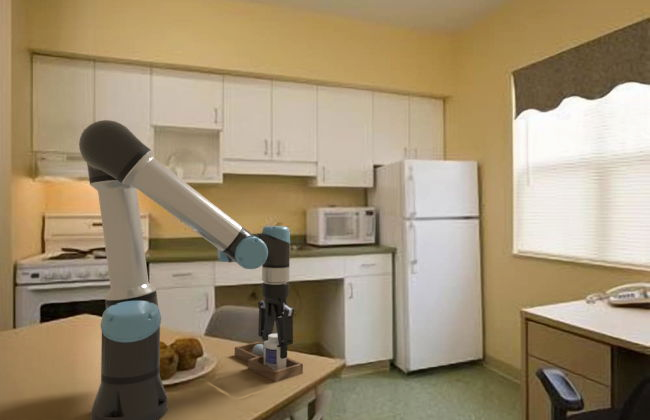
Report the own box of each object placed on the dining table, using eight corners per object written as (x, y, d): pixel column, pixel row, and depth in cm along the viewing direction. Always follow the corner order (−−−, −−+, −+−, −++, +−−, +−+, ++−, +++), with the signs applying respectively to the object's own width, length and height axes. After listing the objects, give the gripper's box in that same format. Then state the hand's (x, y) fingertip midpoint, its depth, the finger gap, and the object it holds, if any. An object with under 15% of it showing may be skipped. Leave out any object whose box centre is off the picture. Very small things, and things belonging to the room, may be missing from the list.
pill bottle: (281, 371, 117) (281, 338, 117) (262, 370, 118) (263, 337, 118) (287, 364, 122) (287, 333, 122) (269, 363, 123) (269, 332, 123)
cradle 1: (258, 368, 123) (258, 357, 123) (234, 357, 132) (234, 347, 132) (284, 361, 129) (284, 351, 129) (259, 350, 138) (259, 341, 138)
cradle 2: (275, 383, 112) (275, 372, 112) (247, 370, 121) (248, 359, 121) (302, 375, 118) (302, 364, 118) (274, 362, 127) (274, 352, 127)
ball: (257, 360, 128) (257, 347, 128) (249, 357, 131) (250, 343, 131) (268, 357, 130) (268, 344, 130) (261, 354, 133) (261, 341, 133)
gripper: (307, 285, 116) (306, 372, 115) (267, 276, 129) (266, 355, 129) (285, 288, 110) (284, 379, 110) (246, 279, 124) (244, 361, 124)
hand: (274, 366), depth 120 cm, fingers closed on pill bottle, 5 cm apart
